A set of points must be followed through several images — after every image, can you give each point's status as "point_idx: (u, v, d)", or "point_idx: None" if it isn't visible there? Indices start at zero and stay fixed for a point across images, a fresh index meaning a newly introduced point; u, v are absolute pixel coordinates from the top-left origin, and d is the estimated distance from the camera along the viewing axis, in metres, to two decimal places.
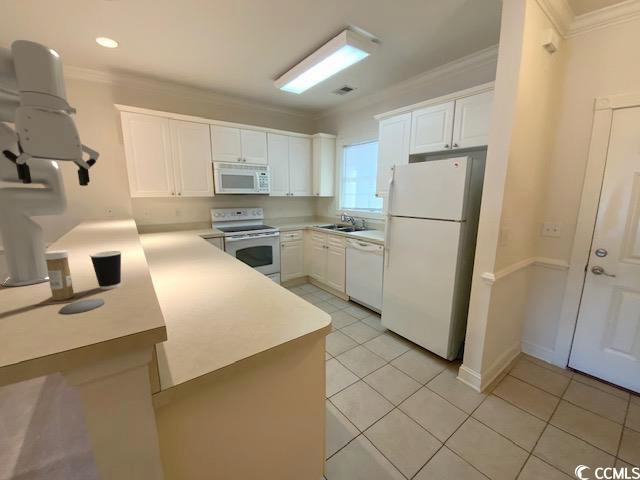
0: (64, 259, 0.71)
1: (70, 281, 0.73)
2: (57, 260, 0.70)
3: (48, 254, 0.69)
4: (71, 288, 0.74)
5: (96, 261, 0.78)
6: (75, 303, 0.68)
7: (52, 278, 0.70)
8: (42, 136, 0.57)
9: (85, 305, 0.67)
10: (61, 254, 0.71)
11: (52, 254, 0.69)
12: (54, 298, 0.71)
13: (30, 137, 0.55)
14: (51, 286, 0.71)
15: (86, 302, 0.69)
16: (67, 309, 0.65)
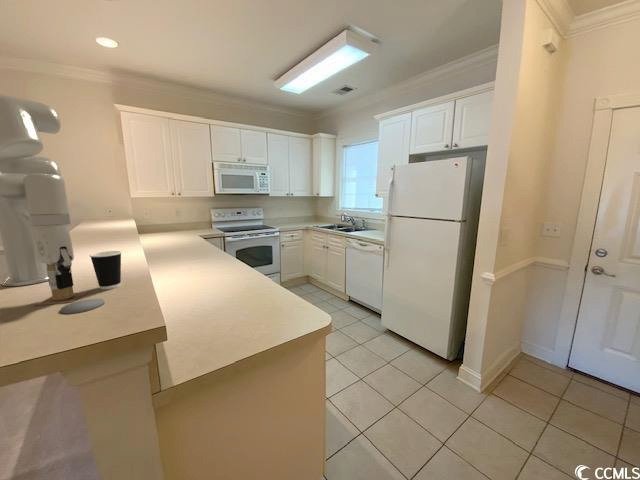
0: None
1: None
2: None
3: None
4: (71, 288, 0.74)
5: (96, 261, 0.78)
6: (75, 303, 0.68)
7: (52, 278, 0.70)
8: None
9: (85, 305, 0.67)
10: None
11: None
12: (54, 298, 0.71)
13: None
14: (51, 286, 0.71)
15: (86, 302, 0.69)
16: (67, 309, 0.65)
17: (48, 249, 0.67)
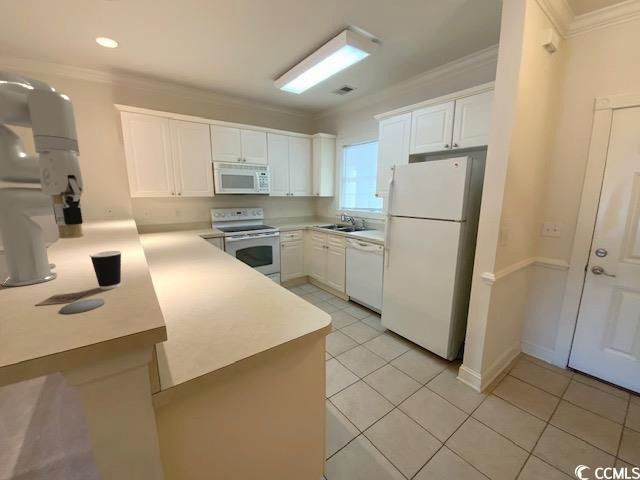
0: None
1: None
2: (65, 192, 0.62)
3: None
4: (80, 227, 0.66)
5: (96, 261, 0.78)
6: (75, 303, 0.68)
7: (58, 211, 0.62)
8: None
9: (85, 305, 0.67)
10: None
11: None
12: (61, 235, 0.63)
13: None
14: (58, 222, 0.63)
15: (86, 302, 0.69)
16: (67, 309, 0.65)
17: (55, 175, 0.59)
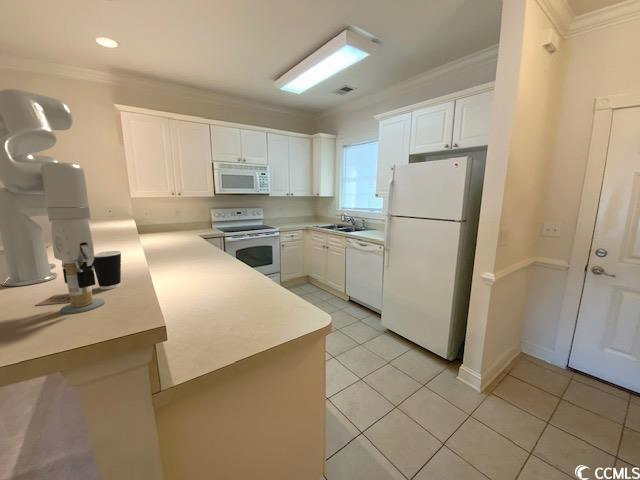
0: None
1: (90, 286, 0.68)
2: None
3: None
4: (91, 294, 0.68)
5: (96, 261, 0.78)
6: None
7: (70, 283, 0.65)
8: None
9: None
10: (81, 258, 0.65)
11: None
12: (73, 305, 0.66)
13: None
14: (70, 292, 0.65)
15: None
16: (67, 309, 0.65)
17: (68, 245, 0.61)
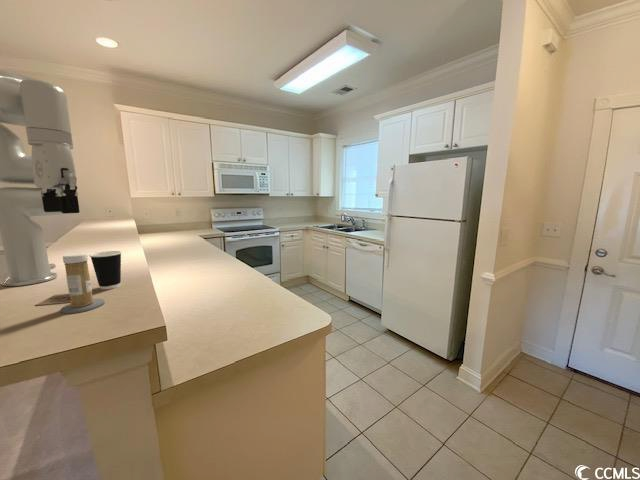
0: (84, 263, 0.66)
1: (90, 286, 0.68)
2: (77, 264, 0.65)
3: (67, 257, 0.64)
4: (91, 294, 0.68)
5: (96, 261, 0.78)
6: None
7: (71, 283, 0.65)
8: None
9: None
10: (81, 258, 0.65)
11: (71, 257, 0.64)
12: (73, 305, 0.66)
13: None
14: (70, 292, 0.65)
15: None
16: (67, 309, 0.65)
17: (48, 168, 0.59)
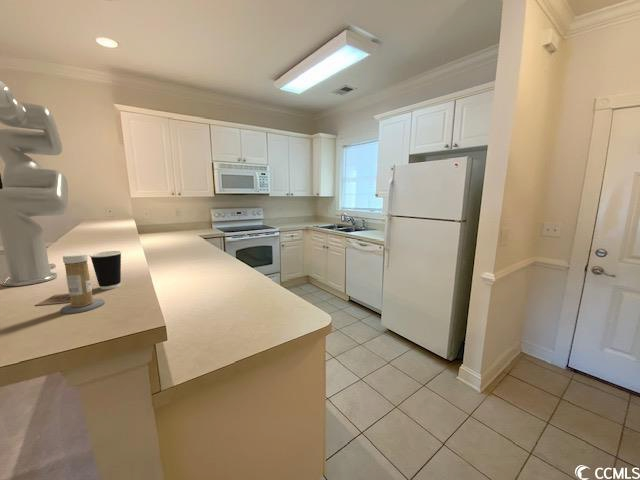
0: (84, 263, 0.66)
1: (90, 286, 0.68)
2: (77, 264, 0.65)
3: (67, 257, 0.64)
4: (91, 294, 0.68)
5: (96, 261, 0.78)
6: None
7: (71, 283, 0.65)
8: None
9: None
10: (81, 258, 0.65)
11: (71, 257, 0.64)
12: (73, 305, 0.66)
13: None
14: (70, 292, 0.65)
15: None
16: (67, 309, 0.65)
17: None
